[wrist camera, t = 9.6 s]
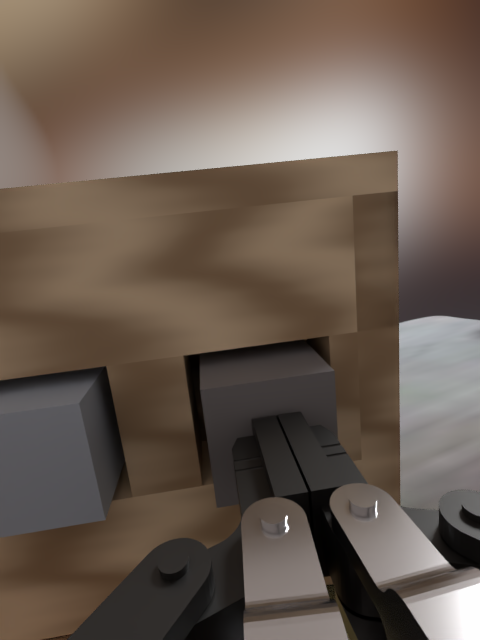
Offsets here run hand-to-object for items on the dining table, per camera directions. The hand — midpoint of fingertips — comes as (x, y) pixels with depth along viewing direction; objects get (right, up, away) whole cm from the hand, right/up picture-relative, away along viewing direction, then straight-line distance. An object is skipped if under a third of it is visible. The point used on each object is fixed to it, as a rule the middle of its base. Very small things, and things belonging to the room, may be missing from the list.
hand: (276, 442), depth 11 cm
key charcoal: (0, -1, +3) cm, 4 cm away
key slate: (-8, -2, +3) cm, 8 cm away
